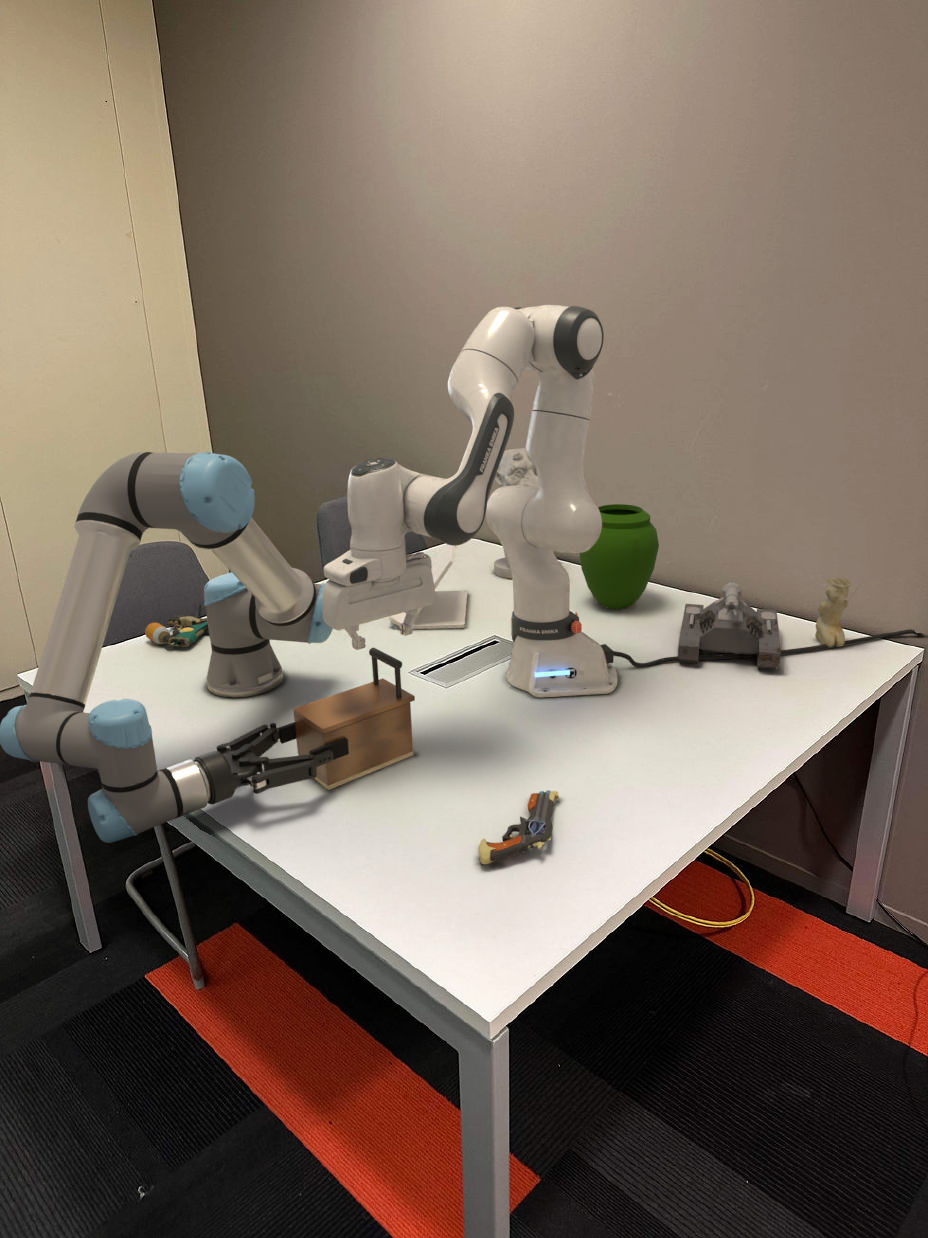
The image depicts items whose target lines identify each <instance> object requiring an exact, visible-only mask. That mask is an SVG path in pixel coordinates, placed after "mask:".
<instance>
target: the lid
mask: <svg viewBox="0 0 928 1238" xmlns="http://www.w3.org/2000/svg"><path fill="white" fill-rule="evenodd" d="M368 654H369V656H370V657H371V666H372V667H371V668H372V669H371V670H372V681H371V682H367V683H365V684H361V685H359V686H356V687H353V688H350V689H346V690H344V691H341V692H338V693H335V694H332V695H329V696H327V697H324V698H320V699H318V700H315V701H312V702H309V703H306V704H303V705H299V706H296V707H294V708H292V712H293V715H294V714H295V715H297V716H298V717H300V718H301V719H303V720H304V721H305V722H307V723H308V724H310V725H311V726H312V727H314V728H315V729H317V730H318V731H320V732H321V733H322V734H325V733H327V732H330V731H333V730H335V729H338V728H341V727H344V726H346V725H349V724H352V723H355V722H357V721H360V720H363V719H366V718H368V717H371V716H374V715H376V714H379V713H382V712H385V711H387V710H390V709H393V708H396V707H398V706H401V705H404V704H407V703H409V702H410V703H411V702H415V701H416V697H415V695H414V694H413V693H411V692H408V691H407V690H405V689H403V688H402V679H401V668H402V667H403V662H402V661H401V660H399V659H397V658H396V657H393V656H391V655H390V654H387V653H386V652H384V651H382V650H380V649H378V648H376V647H371V648H370V649H369V651H368ZM378 661H381V662H382V663H383V664H385V665H387V666H389V667H391V668H393V669H394V682H395V684H394V683H392V682H390V681H389V680H386V679H385V678H383V677H382V678H379V666H378V665H379V664H378Z"/></svg>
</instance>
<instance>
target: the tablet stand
mask: <svg viewBox="0 0 928 1238" xmlns="http://www.w3.org/2000/svg"><path fill="white" fill-rule="evenodd" d="M456 553H457V546H453V545H448V544H445V546H444V548H443V549H442V551H441V552H440V554H439V555H438V556H437V558H436V559H435V561H434V562H433V564H432V570H431V572H432V575H433V581H434V587H435V589H437V587H438V585H440V582H441V581H442V580H443V578H444V577H445V575H446V574H447V573H448V571H449V570H450V569H451V567H452V566H453V564H454V562H455V558H456ZM467 605H468V591H467V590H435V600H434V602H433V603H432V604H431V605H428V606H425V607H421V608H418V609H417V610H418V615H417V617H416V619H415V621H414V623H413V625H412V630H426V629H427V630H429V629H430V630H431V629H435V630H436V629H437V630H438V629H464V628H465V627H466V618H467V617H466V616H467ZM405 616H406V613H404V612H403V613H399V614H396V615H392V616H389V617H388V621H389V622H391V623H392V624H394V625H396V626H398V627H399V624H402V623H403V622H404V619H405Z"/></svg>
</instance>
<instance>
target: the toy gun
mask: <svg viewBox="0 0 928 1238" xmlns="http://www.w3.org/2000/svg"><path fill="white" fill-rule="evenodd" d="M559 797H560V796H559V791H558V790H545V791H544V790H541V791H539V792H532V793H531V794H530V795H529V799H528V802H527V810H528V812H529V816H528V818H527V819H526V818H525V817H523V816H519V822H520V823H519V824H511V825H509V826H508V827H507V830H506V832H504V834H503V835H502V838H501V839H502V841H501V842H489V841H487V839H486V838H485V837H484V838H482V839H481V840H480V842H479V845H478V856H479V862H480V863H481V864H482V865H488V864H491V863H493V862H498V861H503V860H504V859H508V858H511V857H513V856H516V855H519V854H523V853H526V852H528V851H530V850H532V849H534V848H537V849H538V850H542V848H543V847H544V846H545V845H546V842H548V841H552V833H553V822H552V818H553V817H552V816H553V811H554V806H555V803H556V801H557V800H560V798H559ZM514 832H515V833H517V835H513V833H514ZM528 832H529V834H528Z"/></svg>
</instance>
